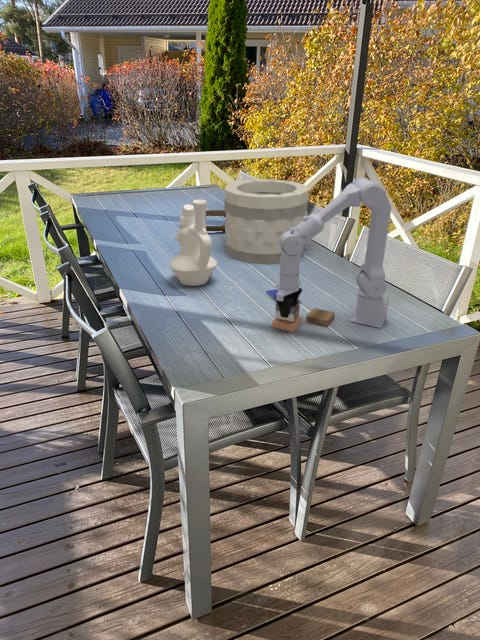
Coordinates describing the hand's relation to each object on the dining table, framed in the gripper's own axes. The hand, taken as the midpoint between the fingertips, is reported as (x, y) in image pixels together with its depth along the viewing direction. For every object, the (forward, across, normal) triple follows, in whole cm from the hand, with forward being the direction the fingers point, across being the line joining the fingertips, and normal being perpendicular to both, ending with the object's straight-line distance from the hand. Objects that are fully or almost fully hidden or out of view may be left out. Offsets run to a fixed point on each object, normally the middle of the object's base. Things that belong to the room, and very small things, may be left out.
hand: (287, 313), depth 153 cm
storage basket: (+4, -61, -36) cm, 71 cm away
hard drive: (+5, -18, -9) cm, 21 cm away
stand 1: (+4, 0, 0) cm, 4 cm away
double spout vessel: (+4, -15, -43) cm, 46 cm away
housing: (+1, 0, 0) cm, 1 cm away
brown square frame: (+4, -84, -76) cm, 113 cm away
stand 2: (+4, -8, +8) cm, 12 cm away
